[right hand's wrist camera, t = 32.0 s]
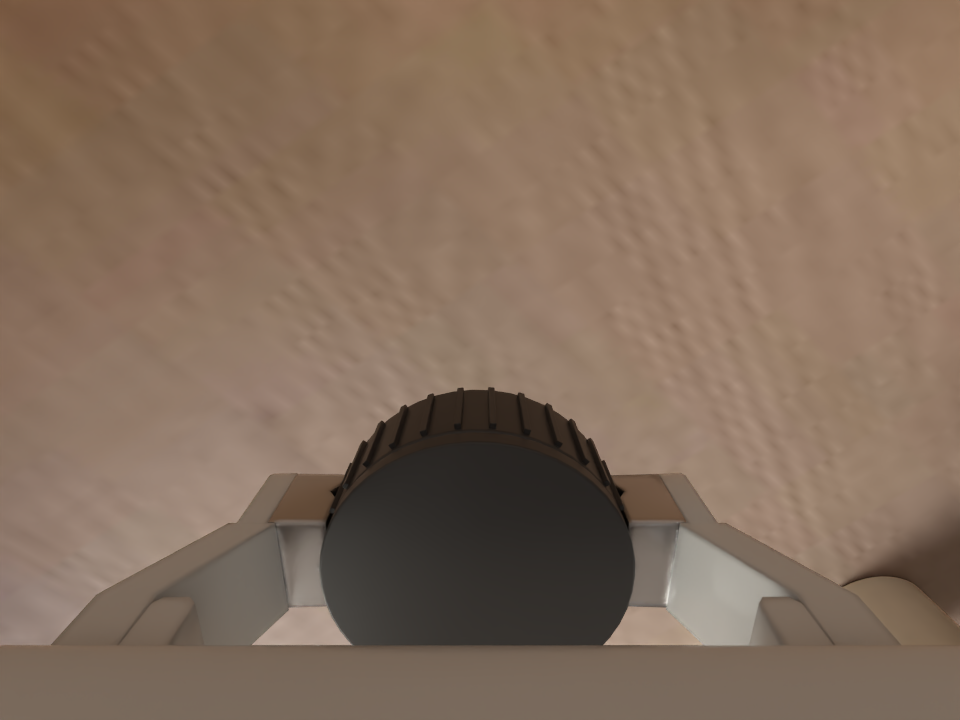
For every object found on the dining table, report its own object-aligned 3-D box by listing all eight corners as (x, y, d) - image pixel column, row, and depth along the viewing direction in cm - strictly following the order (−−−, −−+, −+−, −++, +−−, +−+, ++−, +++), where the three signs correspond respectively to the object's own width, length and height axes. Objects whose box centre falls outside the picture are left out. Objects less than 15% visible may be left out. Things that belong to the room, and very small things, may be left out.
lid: (440, 329, 9) (431, 370, 7) (666, 480, 10) (710, 551, 8) (295, 533, 11) (256, 612, 9) (507, 647, 12) (511, 739, 10)
